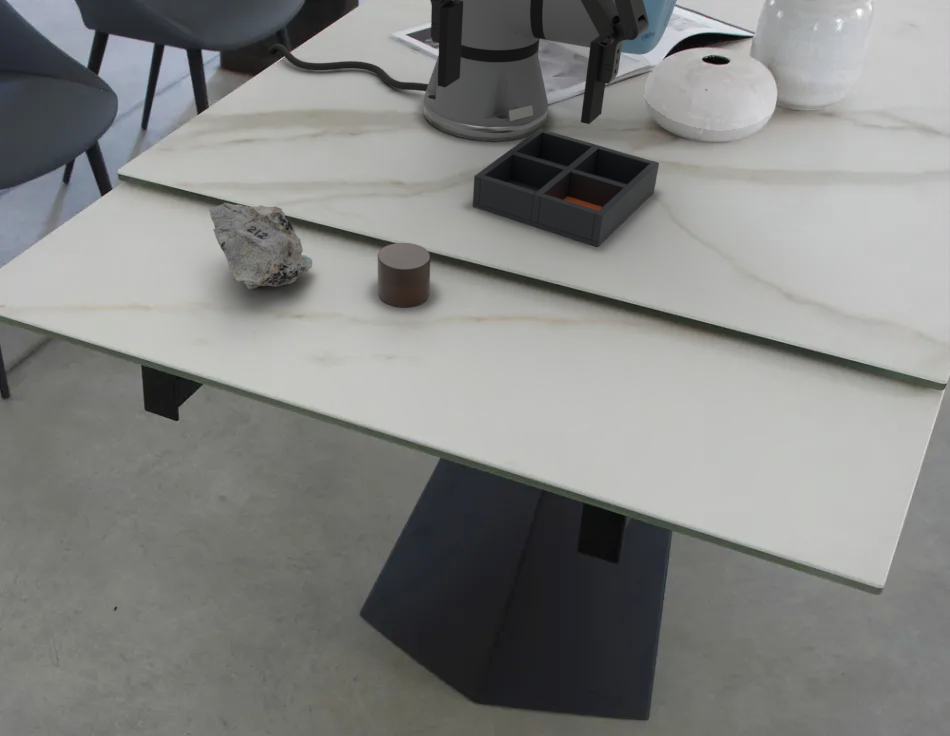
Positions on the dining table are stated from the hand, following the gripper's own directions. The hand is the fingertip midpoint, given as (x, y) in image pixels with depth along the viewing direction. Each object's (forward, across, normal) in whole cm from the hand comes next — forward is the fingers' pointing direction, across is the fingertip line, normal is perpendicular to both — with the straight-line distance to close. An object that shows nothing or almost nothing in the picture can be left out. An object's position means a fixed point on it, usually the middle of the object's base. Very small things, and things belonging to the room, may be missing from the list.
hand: (518, 100), depth 88 cm
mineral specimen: (+17, -19, -14) cm, 29 cm away
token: (+17, -6, -8) cm, 20 cm away
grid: (+17, -1, +18) cm, 25 cm away
